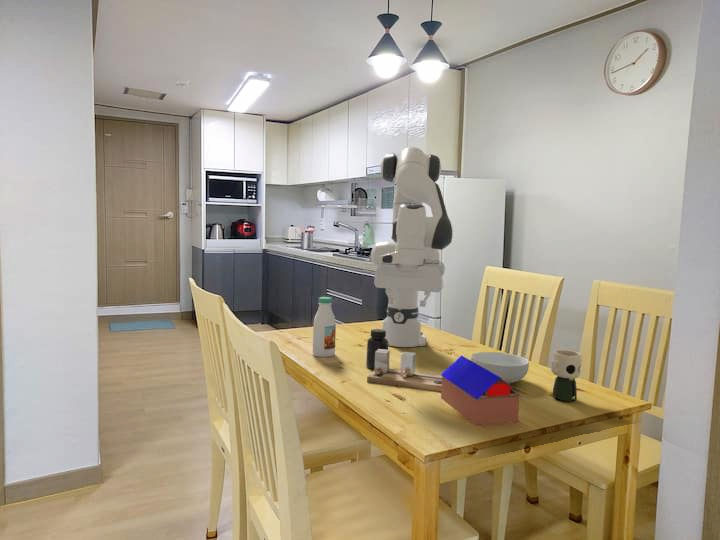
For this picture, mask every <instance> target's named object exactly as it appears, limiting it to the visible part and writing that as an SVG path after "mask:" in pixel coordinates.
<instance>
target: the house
mask: <svg viewBox="0 0 720 540" xmlns="http://www.w3.org/2000/svg"><path fill="white" fill-rule="evenodd" d="M440 375H442V388H441V391H440V399H441V400H442V401H444V402H445V403H446V404H448V405H449V406H450V407H452V408H453V409H454V410H455V411H456V412H458V413H459V414H461V416H463V417H464V418H465V419H466V420H468V421H469V422H470V423H472V425H474V426H477V427H478V426H487V425H488V424H489V425H495V424H496V425H500V424H499V423H501V424H511V423H510V422H512V423H519V411H520V397H521V395H520V394H519V392H517V391H516V390H515V389H514V388H512V386H511V385H510V384H507V383H506V382H505V381H504V380H503V379H502V378H501V377H499V376H497V375H495V374H494V373H492V372H490V371H488V370H487V369H485V368H483V367H481V366H479V365H478V364H476V363H474V362H472V361H471V359H468V358H467V357H465V356H463V355H460V356H459V357H458V358H457V359H456V360H455V361H454V362H453V363H451V364H450V365H449V366H448V367H447V368H446V369H445V370H444V371H443V372H442V373H440ZM508 422H509V423H508ZM489 425H488V426H489Z"/></svg>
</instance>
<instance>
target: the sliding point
mask: <svg viewBox="0 0 720 540" xmlns="http://www.w3.org/2000/svg"><path fill="white" fill-rule="evenodd" d="M400 370H401V373H400V375H402V377H404V378H407V376H412V375H413V374H414V373H415V372H416V352H413V351H412V352H411V351H403V352H402V353H401V355H400Z"/></svg>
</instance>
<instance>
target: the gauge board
mask: <svg viewBox="0 0 720 540" xmlns="http://www.w3.org/2000/svg"><path fill="white" fill-rule="evenodd" d="M390 351H391V350H390V349H388V350H384V349H378V350H377V351H376V352H375V369H373V371H371V373H369V375H368V376H367V377H366V378H367V379H366V382H367V383H373V382H375V383H374V384H381V383H382V384H381V385H388V384H390V385H389V386H396V385H398V387H405V388H412V387H413V388H414V389H421V390H428V391H437V392H441V388H442V375H441V373H439V374H438V373H430V372H421V371H415V373H414V374H413V375H412V376H407V378H404V377H402V375H400V373H401V369H397V368H396V369H395V368H390V355H391V352H390ZM413 388H412V389H413Z"/></svg>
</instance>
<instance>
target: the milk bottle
mask: <svg viewBox="0 0 720 540" xmlns="http://www.w3.org/2000/svg"><path fill="white" fill-rule="evenodd" d="M317 304H318V309H317V311H316V314H315V315H314V319H313V328H312V329H313V330H312V354H313V355H314V356H315V357H318V358H320V357H321V358H330V357H333V356H335V354H336V335H337V334H336V329H337V328H336V327H337V325H336V323H337V322H336V317H335V315H334V312H333V310H332V309H333V308H332V304H333V298H332V297H330V296H320V297H318V303H317Z"/></svg>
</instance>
